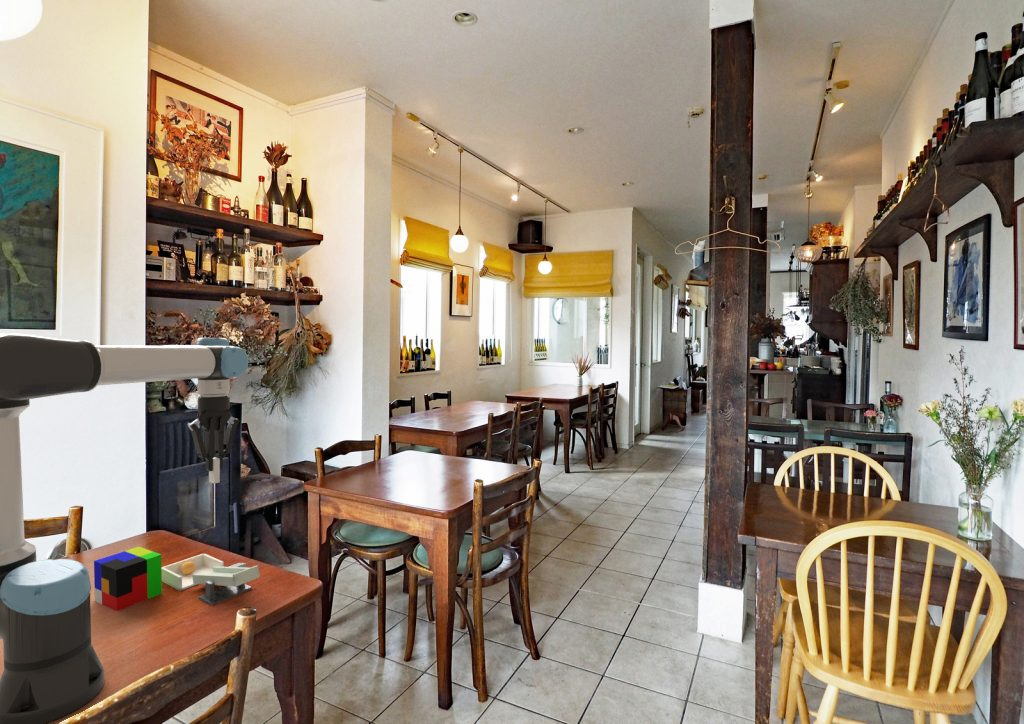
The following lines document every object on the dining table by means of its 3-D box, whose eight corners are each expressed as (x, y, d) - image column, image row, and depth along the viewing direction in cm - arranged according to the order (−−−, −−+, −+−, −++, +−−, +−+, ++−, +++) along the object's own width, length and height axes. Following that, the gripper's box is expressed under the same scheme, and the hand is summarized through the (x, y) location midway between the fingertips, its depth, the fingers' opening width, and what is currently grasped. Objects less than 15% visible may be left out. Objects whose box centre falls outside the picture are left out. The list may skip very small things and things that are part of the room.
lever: (282, 568, 134) (280, 557, 135) (235, 586, 124) (234, 574, 125) (238, 566, 145) (237, 556, 145) (193, 583, 135) (191, 572, 135)
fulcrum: (251, 589, 135) (251, 571, 135) (211, 605, 127) (211, 587, 126) (238, 583, 138) (238, 566, 138) (198, 598, 130) (198, 580, 130)
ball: (177, 571, 142) (183, 578, 140) (180, 561, 141) (185, 569, 140) (190, 566, 145) (196, 574, 143) (192, 557, 144) (198, 564, 142)
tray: (179, 591, 134) (179, 577, 133) (160, 580, 139) (160, 567, 139) (223, 574, 143) (223, 561, 143) (204, 565, 148) (204, 553, 148)
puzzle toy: (94, 601, 128) (93, 560, 128) (139, 584, 137) (139, 546, 137) (116, 611, 124) (116, 569, 123) (162, 593, 132) (161, 554, 132)
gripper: (195, 398, 134) (195, 489, 135) (245, 394, 145) (245, 479, 146) (181, 396, 139) (181, 485, 140) (230, 392, 149) (231, 475, 150)
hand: (214, 482), depth 143 cm, fingers closed
